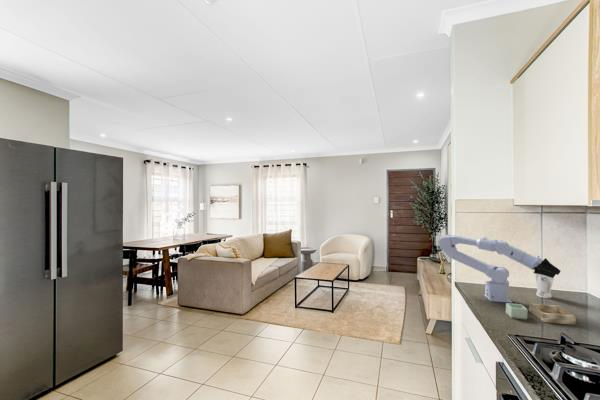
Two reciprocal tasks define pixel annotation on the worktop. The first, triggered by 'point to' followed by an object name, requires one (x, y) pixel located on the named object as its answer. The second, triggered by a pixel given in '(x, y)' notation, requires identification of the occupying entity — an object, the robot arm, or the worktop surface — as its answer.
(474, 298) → the worktop surface
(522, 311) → the small crate
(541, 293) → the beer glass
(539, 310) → the wooden tray
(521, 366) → the worktop surface
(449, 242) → the robot arm
